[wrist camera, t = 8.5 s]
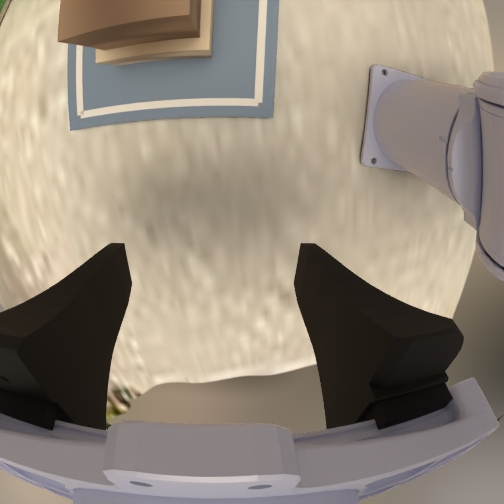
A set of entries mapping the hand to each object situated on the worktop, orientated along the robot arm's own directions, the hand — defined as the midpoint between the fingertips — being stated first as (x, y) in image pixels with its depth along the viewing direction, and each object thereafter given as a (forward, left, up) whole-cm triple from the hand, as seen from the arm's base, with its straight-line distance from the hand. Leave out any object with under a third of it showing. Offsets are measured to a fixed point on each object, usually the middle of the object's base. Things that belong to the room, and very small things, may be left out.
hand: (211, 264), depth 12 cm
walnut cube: (+3, -12, -5) cm, 14 cm away
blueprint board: (+3, -12, -10) cm, 16 cm away
